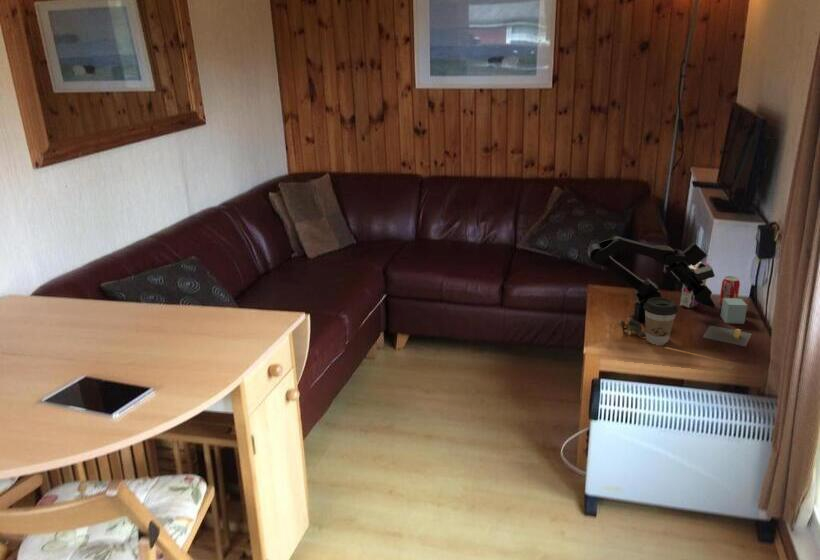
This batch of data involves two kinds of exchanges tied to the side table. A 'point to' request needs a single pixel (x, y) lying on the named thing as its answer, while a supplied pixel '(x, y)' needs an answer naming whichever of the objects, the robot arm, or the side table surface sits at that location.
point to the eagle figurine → (633, 327)
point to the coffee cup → (659, 319)
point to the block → (733, 310)
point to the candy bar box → (686, 295)
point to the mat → (727, 335)
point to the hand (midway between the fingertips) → (710, 301)
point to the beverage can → (729, 288)
